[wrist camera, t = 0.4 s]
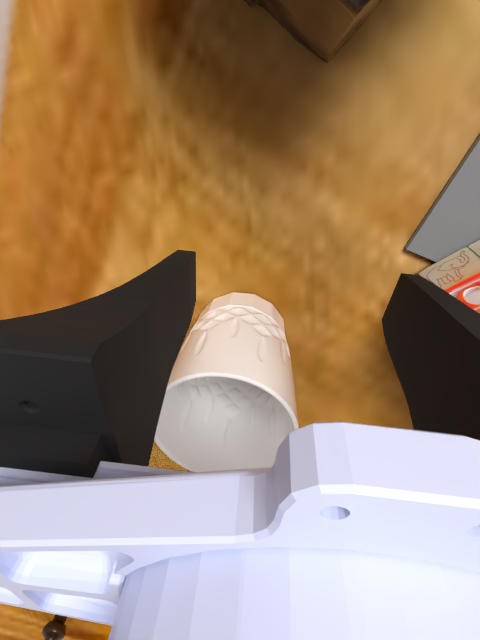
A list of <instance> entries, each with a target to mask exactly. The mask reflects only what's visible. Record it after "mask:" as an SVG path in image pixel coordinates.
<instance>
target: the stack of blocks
mask: <svg viewBox="0 0 480 640" xmlns="http://www.w3.org/2000/svg"><path fill="white" fill-rule="evenodd" d="M419 275H420V276H422V277H424V278H426V279H427V280H429V281H431V282H432V283H434V284H435V285H437V286H439V287H440V288H442V289H443V290H445V291H446V292H448V293H449V294H451V295H452V296H454V297H455V298H457V299H458V300H460V301H461V302H463V303H464V304H466V305H467V306H469V307H470V308H472V309H473V310H475V311H476V312H478V313H480V240H478V241H477V242H475V243H473V244H471V245H469V246H468V247H465V248H463V249H461V250H459V251H457V252H455V253H453V254H451V255H449V256H447V257H446V258H444V259H442V260H440V261H438V262H437V263H435V264H433V265H431V266H429V267H428V268H426V269H424V270H423V271H421V272H420V273H419Z"/></svg>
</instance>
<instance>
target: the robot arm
mask: <svg viewBox="0 0 480 640" xmlns="http://www.w3.org/2000/svg"><path fill="white" fill-rule="evenodd" d="M195 302H196V252H193V251H184V250H177V251H176V252H174V253H173V254H171V255H170V256H168V257H167V258H165V259H164V260H162V261H161V262H160V263H158V264H157V265H155V266H154V267H152V268H151V269H149V270H147V271H146V272H144V273H142V274H141V275H139V276H137V277H136V278H134V279H132V280H130V281H129V282H127V283H125V284H123V285H121V286H119V287H117V288H115V289H113V290H111V291H108V292H106V293H104V294H101V295H99V296H96V297H93V298H90V299H88V300H85V301H82V302H79V303H76V304H73V305H70V306H66V307H63V308H59V309H55V310H51V311H47V312H43V313H39V314H34V315H29V316H23V317H17V318H12V319H6V320H0V603H2V604H7V605H12V606H17V607H22V608H27V609H32V610H37V611H42V612H47V613H52V614H56V615H61V616H66V617H71V618H76V619H81V620H86V621H91V622H96V623H101V624H106V625H111V626H112V627H111V631H110V634H109V638H108V640H480V313H478V312H476V311H475V310H473V309H472V308H470V307H469V306H467V305H466V304H464V303H463V302H461V301H460V300H458V299H457V298H455V297H454V296H452V295H451V294H449V293H448V292H446V291H445V290H443V289H442V288H440V287H439V286H437V285H435V284H434V283H432V282H431V281H429V280H427V279H426V278H424V277H422V276H420V275H412V274H402V273H401V275H400V278H399V280H398V282H397V285H396V287H395V290H394V292H393V294H392V297H391V299H390V301H389V304H388V306H387V309H386V311H385V313H384V316H383V318H382V324H383V330H384V336H385V340H386V344H387V347H388V350H389V353H390V356H391V359H392V361H393V364H394V367H395V369H396V372H397V375H398V377H399V380H400V383H401V385H402V388H403V391H404V394H405V397H406V400H407V403H408V406H409V410H410V415H411V419H412V423H413V427H414V430H413V429H404V428H395V427H387V426H378V425H369V424H361V423H352V422H343V421H332V422H314V423H311V424H309V425H306V426H304V427H301V428H299V429H296V430H294V431H292V432H290V433H289V434H288V435H287V437H286V438H285V439H284V440H283V442H282V443H281V444H280V446H279V447H278V450H277V454H276V458H275V462H274V464H273V466H272V467H269V468H254V469H239V470H224V471H209V472H189V471H181V470H173V469H164V468H156V467H148V465H149V460H150V455H151V451H152V446H153V442H154V438H155V433H156V429H157V425H158V421H159V417H160V413H161V409H162V405H163V401H164V397H165V393H166V389H167V385H168V382H169V378H170V375H171V372H172V369H173V366H174V364H175V361H176V359H177V356H178V354H179V351H180V349H181V346H182V343H183V341H184V338H185V336H186V333H187V331H188V328H189V325H190V323H191V319H192V315H193V311H194V306H195Z"/></svg>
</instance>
